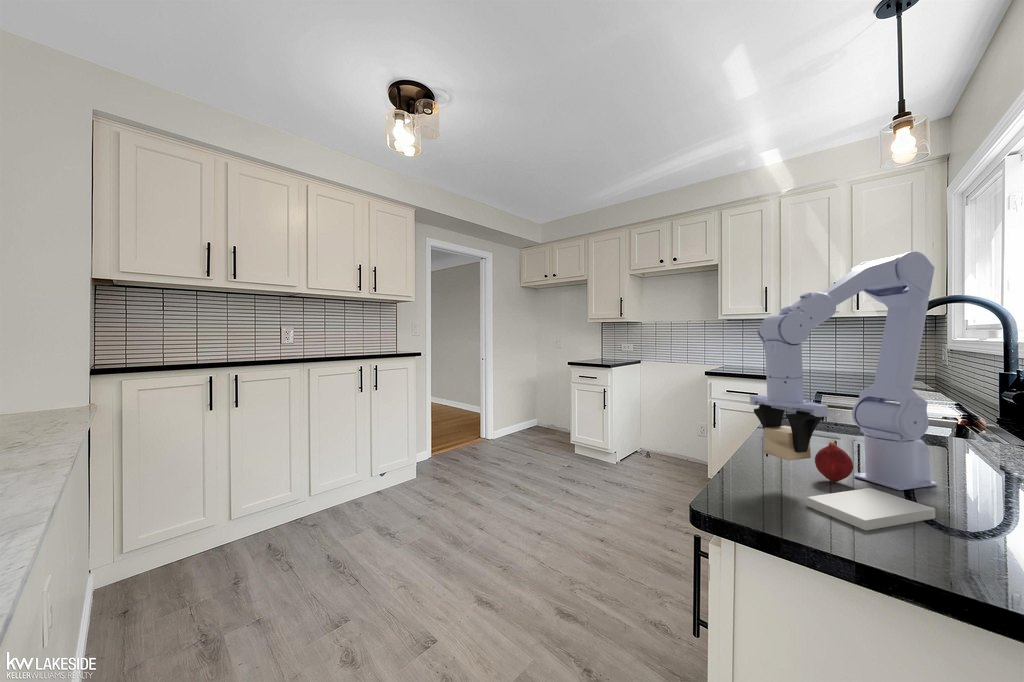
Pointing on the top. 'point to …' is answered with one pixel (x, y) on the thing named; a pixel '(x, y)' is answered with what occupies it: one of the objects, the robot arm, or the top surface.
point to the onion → (833, 462)
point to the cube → (782, 443)
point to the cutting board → (870, 508)
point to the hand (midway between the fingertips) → (787, 448)
